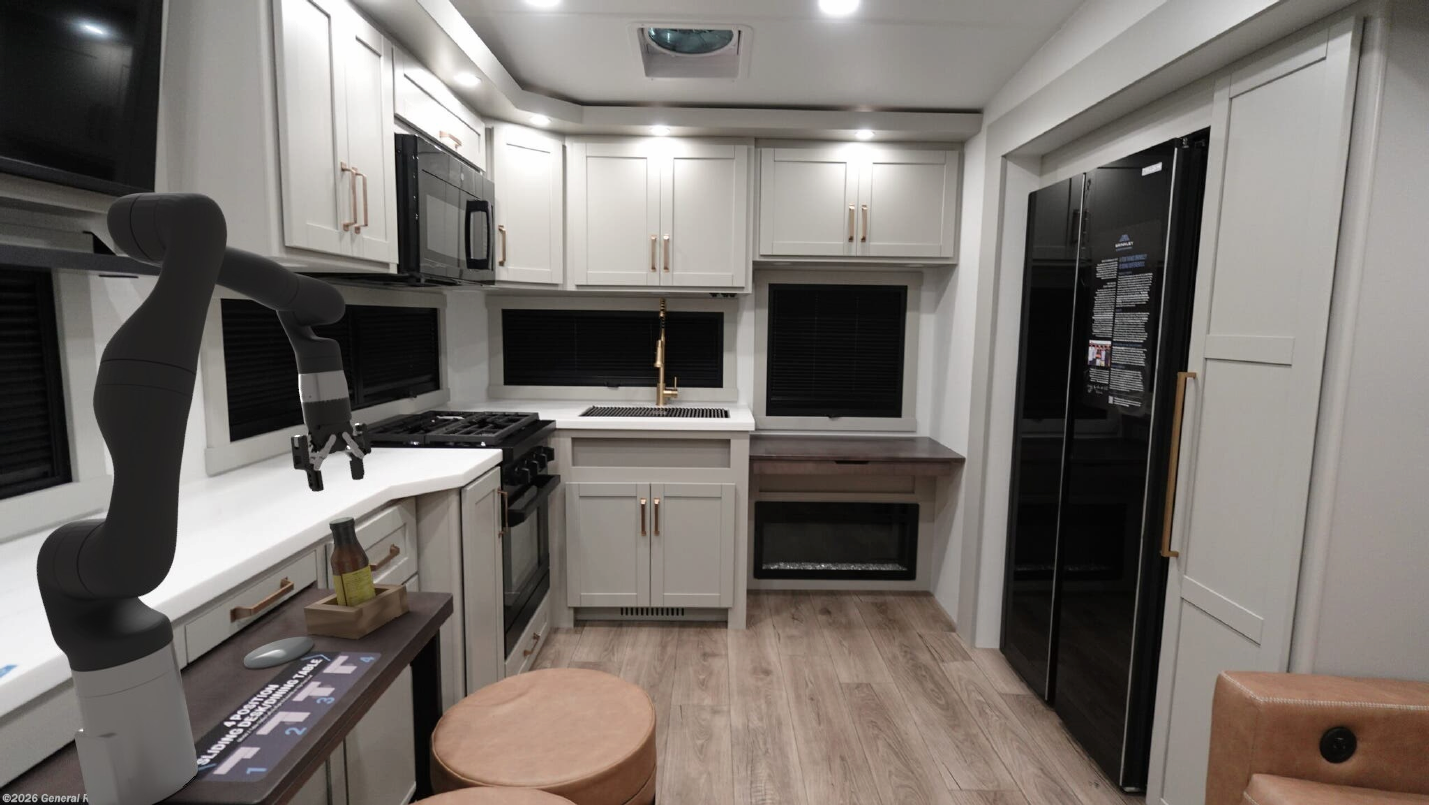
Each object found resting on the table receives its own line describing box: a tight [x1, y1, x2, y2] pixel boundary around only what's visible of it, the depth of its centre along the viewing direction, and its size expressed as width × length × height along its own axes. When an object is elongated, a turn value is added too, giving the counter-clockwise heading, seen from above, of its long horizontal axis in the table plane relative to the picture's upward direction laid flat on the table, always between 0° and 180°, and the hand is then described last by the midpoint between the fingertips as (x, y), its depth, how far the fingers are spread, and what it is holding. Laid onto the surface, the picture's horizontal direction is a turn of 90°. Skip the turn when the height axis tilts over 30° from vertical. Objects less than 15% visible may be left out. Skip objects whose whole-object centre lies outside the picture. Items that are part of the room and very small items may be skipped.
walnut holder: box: [303, 582, 410, 640], centre depth 125 cm, size 12×12×5 cm
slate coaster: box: [243, 636, 314, 670], centre depth 115 cm, size 10×10×1 cm
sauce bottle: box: [328, 516, 376, 607], centre depth 124 cm, size 6×6×20 cm
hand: (338, 485), depth 122 cm, fingers open, 8 cm apart
